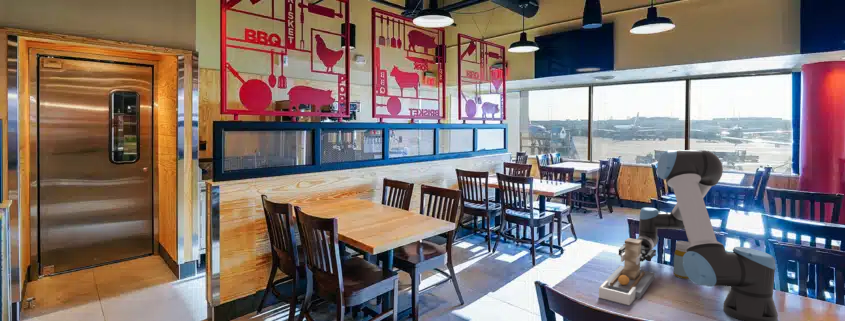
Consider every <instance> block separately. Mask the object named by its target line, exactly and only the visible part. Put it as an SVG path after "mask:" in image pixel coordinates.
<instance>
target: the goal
mask: <svg viewBox="0 0 845 321" xmlns="http://www.w3.org/2000/svg"><path fill="white" fill-rule="evenodd" d="M604 281H605V280H604ZM604 281H603V282H604ZM603 282H602V283H603ZM602 283H601V285H600V286H599V287H598V299H600V300H604V301H608V302H610V303H611V302H612V303H616V304H619V305H623V306H627V307H631V305H632V303H633V302H634V301H635V300H636V299H637V298H636V297H635V295H636V287H632V289H631V290H630V291H629V292H628V293H624V292H620V291H616V290H612V289H608V284H609V281H605V282H604V283H603V284H602Z"/></svg>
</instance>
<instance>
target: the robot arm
mask: <svg viewBox="0 0 845 321" xmlns="http://www.w3.org/2000/svg"><path fill="white" fill-rule="evenodd" d="M656 171H657V175H658V177H659V178H660V179H661V180H666V184H667V186H668V187H669V188H671V189H672V190H673V193H674V196H675V199H676V204H675V205H674V207H673V209H672V210H671V212H659V210H658V209H657V208H654V207H642V208H641V209H640V211H639V218H638V219H639V224H638V225H639V226H638V227H639V228H638V237H637V238H636V239H638V240H642V243H641V254H639V256H638V257H637V258H636V265H638V264H639V263H640V264H641V263H642V262H644V261H645V260H646V261H647V262H650V261H651V260H652V259H653V258H654V257H655V256H657V250H656V249H654V248H655V247H656V246H657V245H658V242H659V236H658V229H662V230H663V229H665V230H666V229H668V230H670V229H673V230H685V234H686V237H687V242H689V244H690V245H689V246H688V248H687V249H686V251H687V252H686V253H685V254H684V256H683V261H684V262H683V267H684V270H685V272H686V274H687V276H688V278H689V279H688V280H690V281H691V282H693V284H695V285H697V286H704V287H705V286H706V287H710V288H711V287H730V289H729V292H728V293H727V295H726V297H725V299H724V301H723V304H722V305H723V306H722V309H723V311H724V313H726V314H727V315H729V316H730V317H732V318H735V319H737V320H740V321H777V320H778V318H779V317H778V316H779V313H778V310H777V306H776V304H775V301H774V297H773V295H774V284H775V283H774V282H775V273H776V271H777V270H776V260H775V257H774V256H772V254H769V253H767V252H764V251H762V250H759V249H754V248H752V247H751V248H749V247H744V246H735V247H734V248H733V249H732V252H731V251H730V252H729V251H728V252H727V251H726V248H725V245H724V244H723V243H722V242H719V241H718V240H717V236H716V233H715V231H714V228H713V225H712V222H711V219H710V215H709V212H708V210H707V206H706V203H705V200H704V198H705V197H706V195H707V194H708V192H710V189H711V188H712V187H714V186H716V185H718V184H719V181H721V178H722V176H723V171H724V168H723V164H722V161H721V159H720V158H719V157H718V156H717V155H716V154H715V153H713V152H711V151H709V150H706V149H704V150H703V149H697V150H695V149H693V150H692V149H686V150H685V149H684V150H683V149H682V150H681V149H680V150H679V149H678V150H676V149H673V150H665V151H663V152H662V153H661V154H660V155H659V158H658V160H657V169H656ZM618 256H620V262H623V263H624V262H625V243H623V245H622V246H621V247H620V248H619V249H618Z"/></svg>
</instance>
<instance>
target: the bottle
mask: <svg viewBox="0 0 845 321" xmlns="http://www.w3.org/2000/svg"><path fill="white" fill-rule="evenodd" d="M689 245H690V244H689V241H688V240H687V241H685V240H677V241H676V242H675V250H674V257H673V273H672V274H673V276H675V277H676V278H679V279H683V280H690V279H689V278H688V276H687V274H686V272H685V270H684V267H683V262H684V261H683V256H684V254H685V253H686V252H687V251H686V249H687V248H688V246H689Z"/></svg>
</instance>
